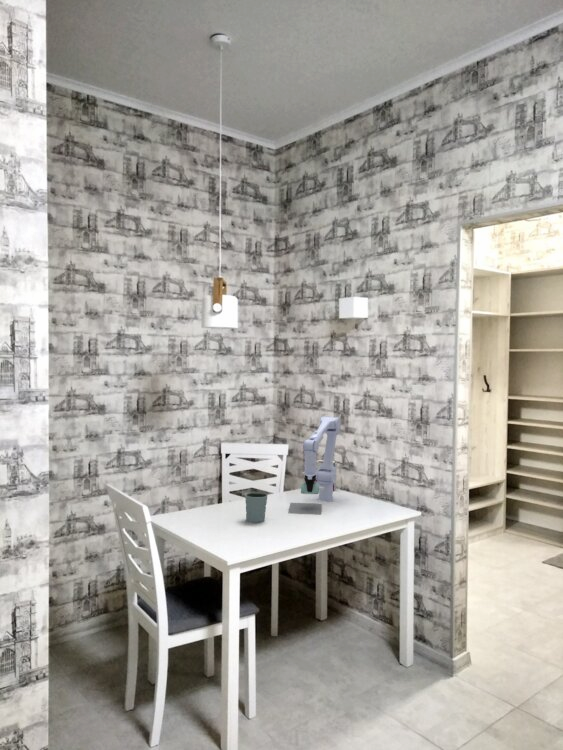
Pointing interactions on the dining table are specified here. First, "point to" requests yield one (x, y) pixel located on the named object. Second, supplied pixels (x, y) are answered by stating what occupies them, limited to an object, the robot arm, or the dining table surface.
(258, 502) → the teal cup
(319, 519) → the dining table surface
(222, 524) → the dining table surface
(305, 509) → the charcoal mat
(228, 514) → the dining table surface
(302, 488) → the teal plug
